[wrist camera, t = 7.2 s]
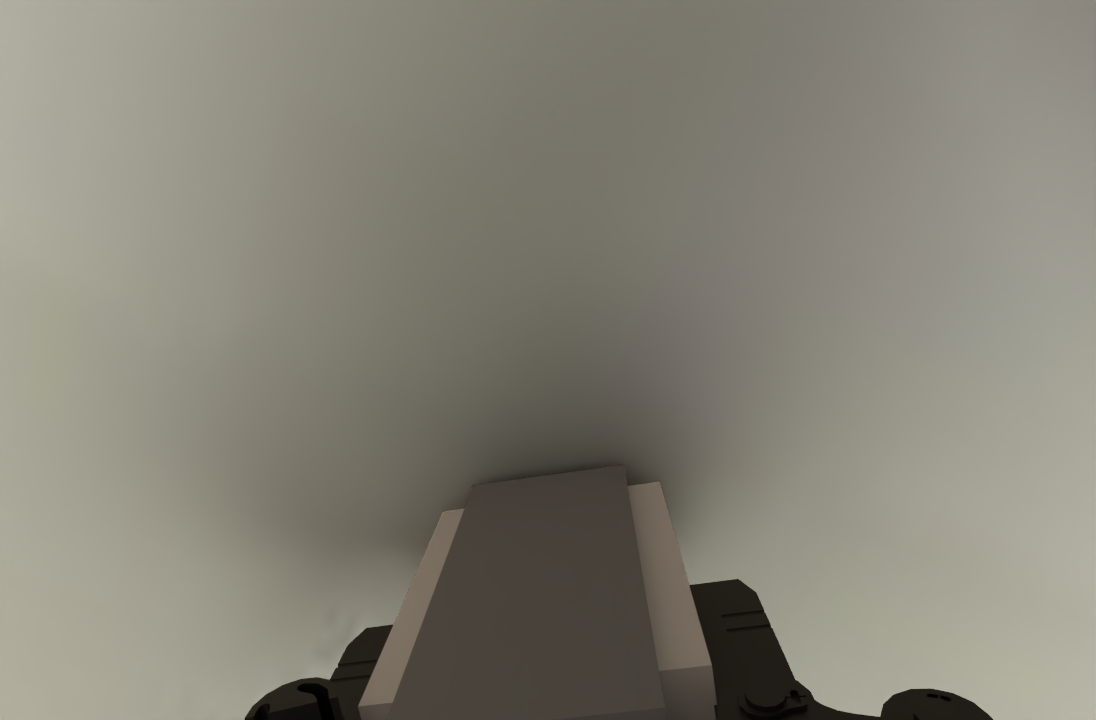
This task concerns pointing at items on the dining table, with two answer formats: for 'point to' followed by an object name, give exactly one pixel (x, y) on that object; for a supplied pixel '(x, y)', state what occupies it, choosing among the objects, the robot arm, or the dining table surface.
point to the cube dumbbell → (538, 609)
